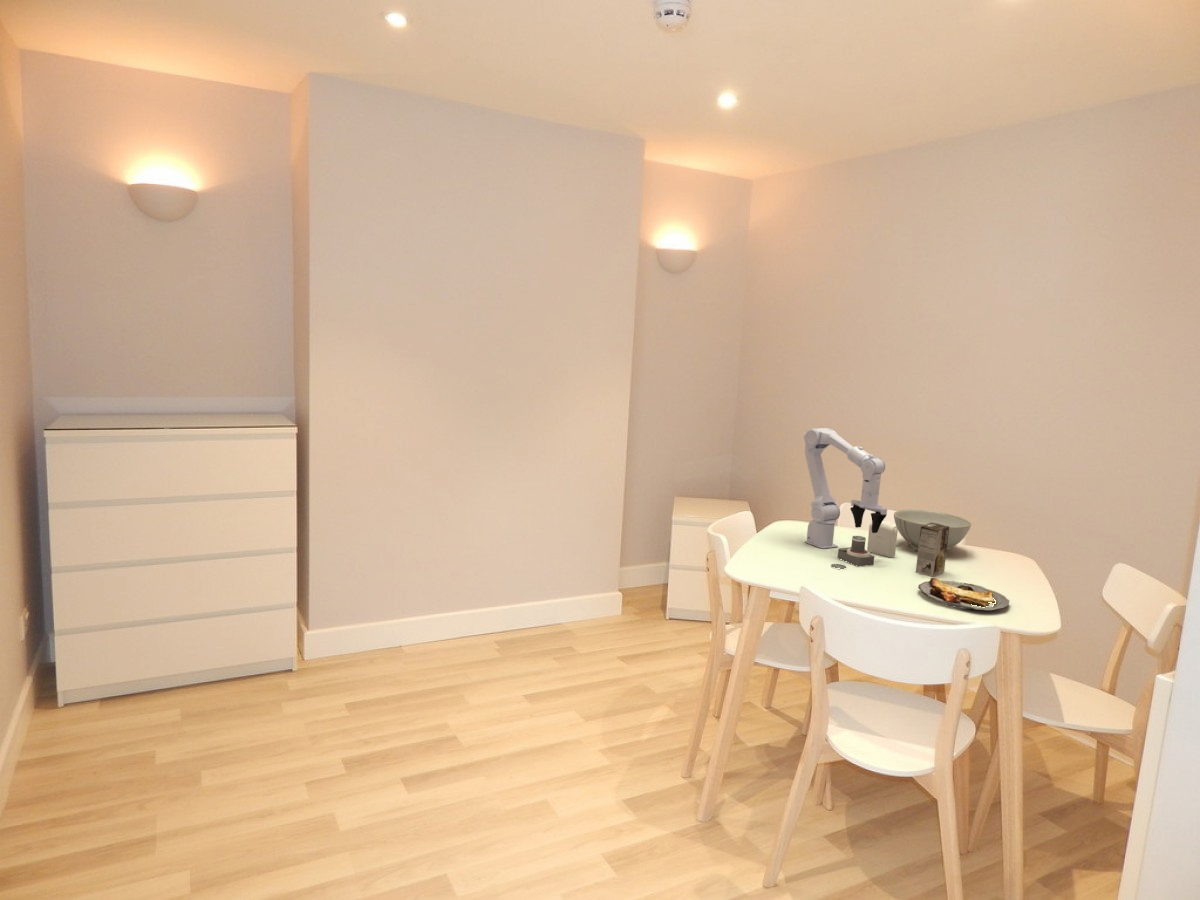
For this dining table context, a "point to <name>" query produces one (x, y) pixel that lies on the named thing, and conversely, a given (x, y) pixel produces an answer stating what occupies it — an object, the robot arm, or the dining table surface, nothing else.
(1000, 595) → the food plate
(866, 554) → the camera body
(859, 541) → the lens
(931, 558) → the coffee box
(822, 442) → the robot arm
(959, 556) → the dining table surface
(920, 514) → the decorative bowl
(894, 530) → the photo printer
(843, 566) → the lens cap
